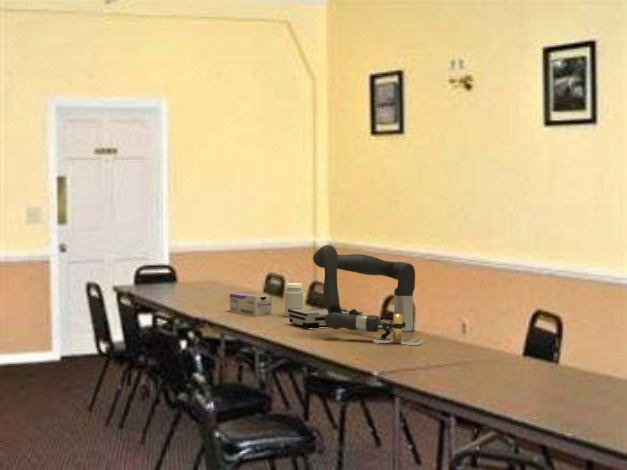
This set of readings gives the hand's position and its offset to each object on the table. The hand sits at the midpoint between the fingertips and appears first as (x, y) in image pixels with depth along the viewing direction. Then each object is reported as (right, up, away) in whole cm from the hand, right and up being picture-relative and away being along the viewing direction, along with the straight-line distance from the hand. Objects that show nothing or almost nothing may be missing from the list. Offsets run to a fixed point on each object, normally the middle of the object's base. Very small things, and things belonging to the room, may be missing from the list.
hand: (403, 325), depth 436 cm
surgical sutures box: (-75, -3, +102) cm, 127 cm away
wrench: (-14, -2, +21) cm, 25 cm away
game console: (-34, -6, +58) cm, 68 cm away
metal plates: (-2, -8, +2) cm, 8 cm away
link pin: (-3, -7, +1) cm, 8 cm away
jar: (-51, -4, +88) cm, 102 cm away
